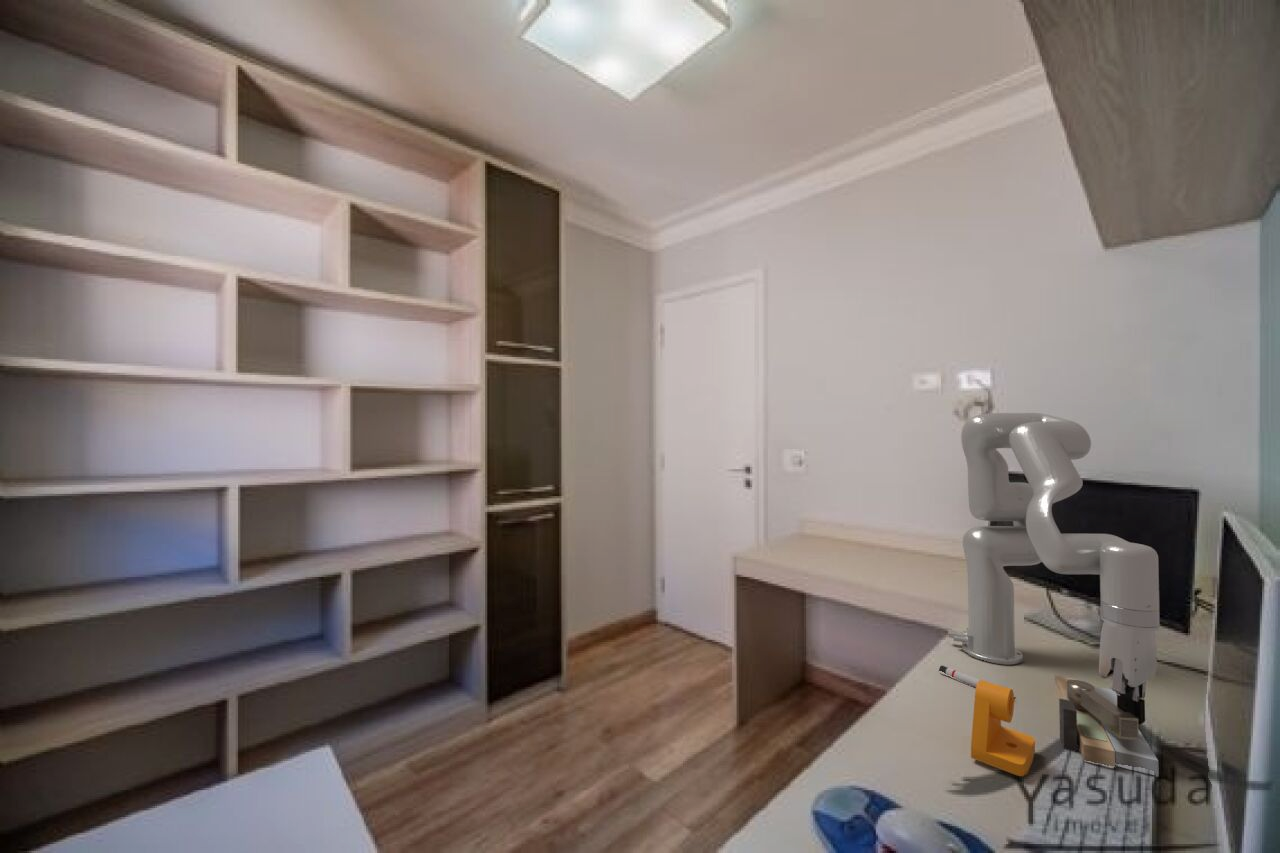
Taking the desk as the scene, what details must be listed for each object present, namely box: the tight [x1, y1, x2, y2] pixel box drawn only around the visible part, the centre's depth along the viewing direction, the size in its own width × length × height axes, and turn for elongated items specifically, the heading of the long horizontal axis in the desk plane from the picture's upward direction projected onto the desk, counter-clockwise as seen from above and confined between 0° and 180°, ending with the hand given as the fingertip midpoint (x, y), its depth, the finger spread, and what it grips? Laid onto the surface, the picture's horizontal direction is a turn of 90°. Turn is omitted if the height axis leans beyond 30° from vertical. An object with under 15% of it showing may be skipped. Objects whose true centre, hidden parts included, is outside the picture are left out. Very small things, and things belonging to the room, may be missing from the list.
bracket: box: [970, 679, 1036, 777], centre depth 90 cm, size 11×7×12 cm, turn 134°
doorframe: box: [1054, 674, 1160, 778], centre depth 99 cm, size 12×28×7 cm, turn 149°
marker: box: [938, 665, 1016, 701], centre depth 114 cm, size 15×2×2 cm, turn 30°
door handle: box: [1067, 679, 1139, 740], centre depth 94 cm, size 14×4×4 cm, turn 171°
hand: (1131, 719), depth 91 cm, fingers closed
